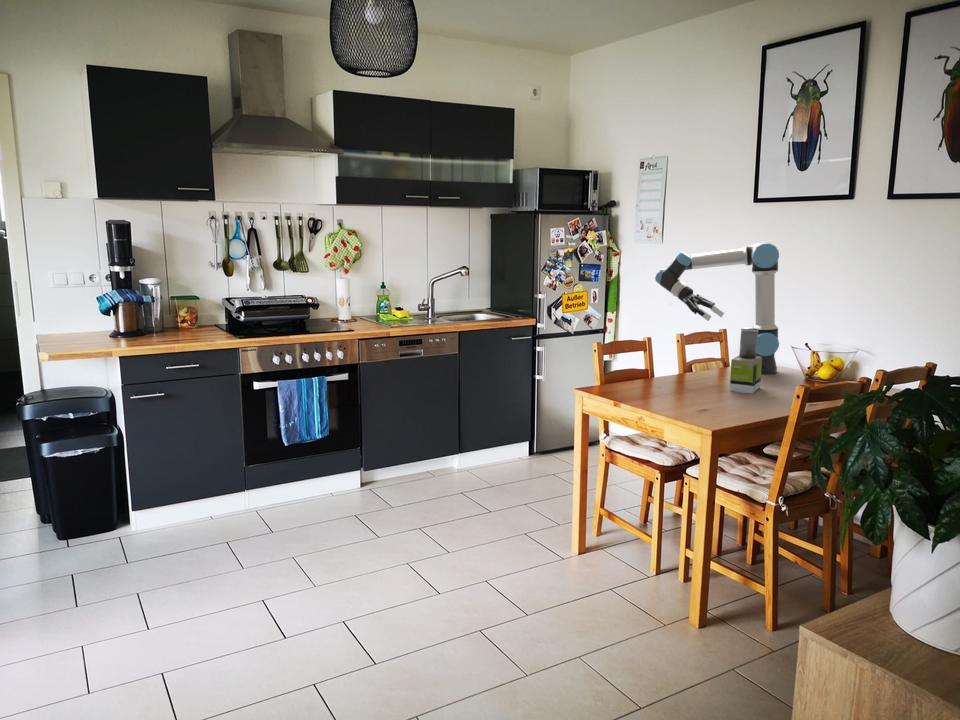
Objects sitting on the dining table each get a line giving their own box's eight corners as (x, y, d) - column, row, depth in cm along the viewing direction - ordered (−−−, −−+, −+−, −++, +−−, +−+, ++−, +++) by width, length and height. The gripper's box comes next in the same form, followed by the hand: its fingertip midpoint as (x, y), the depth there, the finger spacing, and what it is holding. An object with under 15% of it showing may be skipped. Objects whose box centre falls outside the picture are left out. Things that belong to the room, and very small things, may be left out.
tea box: (737, 385, 331) (740, 353, 328) (760, 388, 326) (763, 356, 323) (728, 391, 319) (731, 358, 316) (752, 394, 313) (754, 361, 311)
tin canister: (746, 355, 324) (748, 326, 322) (759, 358, 318) (762, 329, 316) (735, 356, 321) (737, 327, 319) (748, 359, 315) (750, 329, 312)
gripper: (690, 295, 365) (724, 319, 355) (665, 300, 347) (700, 326, 337) (698, 283, 361) (732, 307, 351) (673, 287, 343) (708, 313, 333)
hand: (716, 316), depth 344 cm, fingers open, 13 cm apart
